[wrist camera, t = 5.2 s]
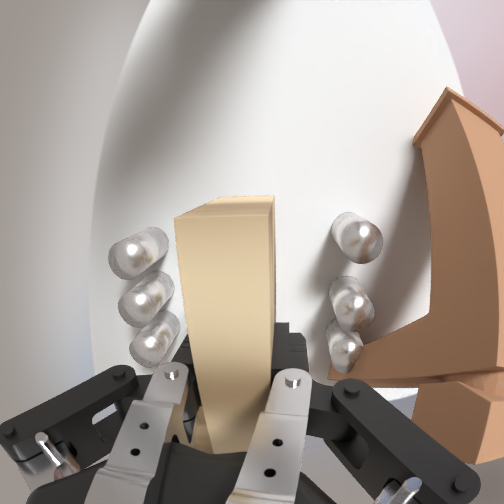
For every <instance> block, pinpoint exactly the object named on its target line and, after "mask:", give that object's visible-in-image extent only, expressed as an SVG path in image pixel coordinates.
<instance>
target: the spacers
mask: <svg viewBox="0 0 504 504" xmlns="http://www.w3.org/2000/svg"><path fill="white" fill-rule="evenodd" d="M332 236H333V238H334V240H335V241H336V243H337V244H338V245H339V247H340V248H341V249H342V251H343V252H344V254H345V255H346V256H347V258H348V259H349V260H351V261H352V262H354V263H358V264H365V263H369V262H371V261H373V260H374V259H375V258H376V257H377V256H378V255H379V253H380V252H381V249H382V246H383V238H382V234H381V232H380V230H379V229H378V228H377V227H376V226H375V225H374V224H372V223H370V222H369V221H367V220H365V219H364V218H362V217H361V216H359V215H357V214H355V213H352V212H346V213H342V214H340V215H339V216H338V217H337V218H336V219H335V220H334V222H333V224H332ZM168 248H169V241H168V238H167V236H166V234H165V233H164V232H163V231H162V230H161V229H159V228H156V227H150V228H147V229H145V230H143V231H141V232H139V233H136V234H134V235H132V236H130V237H128V238H126V239H124V240H122V241H120V242H118V243H116V244H114V245H113V246H112V247H111V249H110V251H109V255H108V260H109V264H110V267H111V269H112V271H113V272H114V273H115V274H116V275H117V276H118V277H120V278H121V279H124V280H131V279H134V278H135V277H137V276H138V275H139V274H140V273H142V272H143V271H144V270H146V269H147V268H148V267H150V266H151V265H152V264H154V263H155V262H156V261H158V260H159V259H160V258H162V257H163V256H164V255H165V254H166V253H167V251H168ZM173 292H174V283H173V281H172V279H171V278H170V276H169V275H167V274H166V273H164V272H162V271H154V272H152V273H150V274H149V275H148V276H147V277H145V278H144V279H143V280H142V281H140V282H139V283H138V284H137V285H136V286H134V287H133V288H132V289H131V290H130V291H128V292H127V293H126V294H125V295H124V296H123V297H121V299H120V300H119V303H118V309H119V313H120V315H121V317H122V318H123V319H124V321H125V322H127V323H128V324H129V325H131V326H133V327H137V328H141V327H144V326H145V327H144V328H143V329H142V330H141V332H140V333H139V334H138V335H137V336H136V338H135V339H134V340H133V341H132V342H131V344H130V346H129V350H130V354H131V356H132V357H133V359H134V360H135V361H136V362H138V363H139V364H140V365H142V366H145V367H149V368H152V367H155V366H157V365H158V364H159V362H160V361H161V359H162V358H163V356H164V354H165V353H166V351H167V350H168V348H169V346H170V345H171V343H172V342H173V340H174V338H175V337H176V335H177V334H178V332H179V330H180V322H179V320H178V318H177V317H176V316H175V315H174V314H173V313H171V312H169V311H165V310H162V311H159V310H160V309H161V307H162V306H163V305H164V304H165V303H166V302H167V300H168V299H169V298H170V297H171V296H172V294H173ZM329 297H330V300H331V303H332V306H333V309H334V312H335V315H336V318H337V319H335V320H333V321H331V322H330V323H329V325H328V326H327V328H326V338H327V342H328V347H329V351H330V356H331V360H332V365H333V367H334V369H335V370H337V371H338V372H341V373H350V372H351V370H352V368H353V367H354V365H355V363H356V362H357V360H358V358H359V357H360V355H361V353H362V351H363V350H364V348H363V343H362V341H361V338H360V336H359V333H358V332H359V331H362V330H364V329H365V328H367V327H368V326H369V325H370V324H371V322H372V321H373V319H374V315H375V309H374V306H373V304H372V303H371V301H370V299H369V298H368V296H367V295H366V293H365V291H364V290H363V288H362V287H361V285H360V283H359V282H358V281H357V279H355V278H354V277H352V276H341V277H339V278H337V279H336V280H334V281H333V282H332V284H331V286H330V288H329Z"/></svg>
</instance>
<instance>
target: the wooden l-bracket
mask: <svg viewBox="0 0 504 504" xmlns="http://www.w3.org/2000/svg"><path fill="white" fill-rule="evenodd" d="M174 227H175V238H176V247H177V256H178V265H179V273H180V281H181V289H182V296H183V303H184V310H185V316H186V323H187V329H188V335H189V341H190V347H191V352H192V358H193V363H194V368H195V374H196V379H197V384H198V388H199V393H200V398H201V402H202V406H200V407H199V410H198V412H197V413H198V425H197V431H196V437H195V443H194V449H197V450H200V451H202V452H205V453H208V454H222V453H233V452H243V451H244V452H247V451H248V449H249V446H250V443H251V440H252V437H253V434H254V431H255V428H256V424H257V421H258V418H259V415H260V413H261V412H262V411H263V412H264V411H265V408H266V405H267V402H268V398H269V395H270V391H271V363H272V350H273V337H274V323H276V250H275V200H274V195H268V196H233V197H219V198H217V199H215V200H213V201H210V202H208V203H206V204H204V205H202V206H200V207H197V208H195V209H193V210H191V211H189V212H187V213H185V214H182V215H180V216H178V217H176V218H174Z"/></svg>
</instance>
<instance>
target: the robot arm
mask: <svg viewBox="0 0 504 504" xmlns="http://www.w3.org/2000/svg"><path fill="white" fill-rule="evenodd" d="M113 403H114V405H115V407H116V409H117V411H116V412H114V413H112V414H111V415H109V416H108V417H106V418H104V419H102V420H101V421H99V422H98V423H96V424H94V425H93V424H92V418H93V416H94V415H95V414H96V413H98V412H100V411H102V410H103V409H105V408H106V407H108V406H110V405H111V404H113ZM200 406H202V402H201V398H200V393H199V388H198V384H197V379H196V374H195V368H194V363H193V358H192V352H191V347H190V341H189V335H188V334H187V335H186V337H185V339H184V340H183V342H182V344H181V345H180V347H179V349H178V351H177V352H176V354H175V356H174V357H173V359H172V361H171V362H168V363H164V364H162V365H160V366H158V367H157V368H156V369H155V371H154V374H152V375H138V376H136V373H135V370H134V369H133V368H132V367H130V366H127V365H117V366H113V367H111V368H109V369H107V370H105V371H104V372H102V373H100V374H98V375H96V376H94V377H92V378H90V379H89V380H87V381H85V382H83V383H81V384H79V385H77V386H75V387H74V388H71V389H70V390H68V391H66V392H64V393H62V394H60V395H58V396H56V397H54V398H52V399H50V400H48V401H46V402H44V403H42V404H40V405H38V406H36V407H34V408H32V409H30V410H28V411H26V412H24V413H22V414H20V415H18V416H16V417H14V418H12V419H10V420H7V421H5V422H4V423H2V424H1V425H0V444H1V446H2V447H3V448H4V450H5V451H6V452H7V453H8V455H9V457H10V458H11V459H12V460H13V462H14V463H15V464H16V465H17V466H18V468H19V470H20V472H21V474H22V476H23V478H24V480H25V481H26V483H27V485H28V487H29V489H30V490H31V492H32V493H31V494H30V496H29V497H28V499H27V502H26V504H337V503H335V502H334V501H333V500H332V499H331V498H330V497H329V496H327V495H326V494H325V493H324V492H323V491H322V490H321V489H320V488H319V487H318V486H317V485H316V484H314V482H313V481H311V480H310V479H309V478H308V477H307V476H306V475H305V474H304V473H302V472H300V468H301V463H302V456H303V450H304V443H305V436H306V435H311V436H315V437H320V438H323V439H324V442H325V443H326V445H327V446H328V447H329V448H330V449H331V451H332V452H333V453H334V454H335V456H336V457H337V458H338V459H339V460H340V461H341V463H342V464H343V465H344V466H345V467H346V469H347V470H348V471H349V472H350V473H351V474H352V476H353V477H354V478H355V479H356V480H357V481H358V482H359V484H360V485H361V486H362V487H363V488H364V489H365V490H366V491H367V493H368V494H369V495H370V496H371V497H372V498H373V499H374V500H375V501H374V503H373V504H469V503H470V502H471V501H472V500H473V499H474V498H475V497H476V496H477V495H478V493H479V491H480V486H481V483H480V478H479V476H478V474H477V473H476V472H475V471H473V470H472V469H471V468H470V467H468V466H467V465H466V464H465V463H463V462H462V461H461V460H459V459H458V458H457V457H456V456H454V455H453V454H452V453H451V452H449V451H448V450H447V449H446V448H444V447H443V446H442V445H441V444H439V443H438V442H437V441H436V440H434V439H433V438H432V437H431V436H429V435H428V434H427V433H426V432H424V431H423V430H422V429H421V428H420V427H418V426H417V425H416V424H415V423H413V422H412V421H411V420H410V419H409V418H407V417H406V416H405V415H404V414H402V413H401V412H400V411H399V410H398V409H396V408H395V407H394V406H393V405H392V404H390V403H389V402H388V401H387V400H386V399H385V398H383V397H382V396H381V395H380V394H379V393H377V392H376V391H375V390H374V389H373V388H371V387H370V386H369V385H368V384H367V383H365V382H364V381H362V380H359V379H353V378H349V379H343V380H340V381H338V382H337V383H336V384H335V385H334V387H332V386H326V385H322V384H319V383H317V382H316V381H314V380H313V379H312V377H311V375H310V374H309V367H308V357H307V348H306V339H305V338H304V337H303V335H302V334H301V333H289V323H274V337H273V350H272V363H271V391H270V395H269V398H268V402H267V405H266V408H265V411H264V412H263V411H262V412H261V413H260V415H259V418H258V421H257V424H256V428H255V431H254V434H253V437H252V440H251V443H250V446H249V449H248V451H247V452H244V451H243V452H233V453H222V454H208V453H205V452H202V451H200V450H197V449H194V443H195V437H196V431H197V425H198V413H197V412H198V410H199V407H200ZM110 452H111V453H110ZM109 453H110V456H109V458H108V459H107V460H105V461H102V462H100V463H98V464H96V465H93V466H91V467H89V468H87V467H88V466H90V465H92V464H93V463H95V462H96V461H98V460H99V459H101V458H102V457H104V456H106V455H107V454H109ZM85 468H86V469H85ZM83 469H84V470H83Z"/></svg>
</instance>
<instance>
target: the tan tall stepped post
mask: <svg viewBox="0 0 504 504" xmlns="http://www.w3.org/2000/svg"><path fill="white" fill-rule="evenodd" d="M503 133H504V128H503V126H502V125H500V124H499V123H498V122H497V121H495V120H494V119H493V118H492V117H490V116H489V115H488V114H486V113H485V112H484V111H482V110H481V109H480V108H478V107H477V106H476V105H474V104H473V103H471V102H470V101H468V100H467V99H465V98H464V97H462V96H461V95H459V94H458V93H456V92H455V91H453V90H452V89H450V88H448V87H446V88H445V90H444V91H443V93H442V95H441V96H440V98H439V99H438V101H437V103H436V104H435V106H434V107H433V109H432V110H431V112H430V114H429V115H428V117H427V118H426V120H425V121H424V123H423V124H422V126H421V127H420V129H419V130H418V132H417V133H416V135H415V136H414V140H413V145H414V146H416V147H418V148H419V149H421V150H422V155H423V161H424V168H425V175H426V183H427V192H428V202H429V214H430V230H431V293H430V309H429V313H428V314H427V315H426V316H424V317H422V318H420V319H418V320H416V321H414V322H412V323H410V324H408V325H406V326H404V327H402V328H400V329H398V330H396V331H394V332H392V333H390V334H388V335H385V336H383V337H381V338H379V339H377V340H374V341H372V342H370V343H368V344H365V345H363V348H364V350H363V351H362V353H361V355H360V357H359V358H358V360H357V362H356V363H355V365H354V367H353V368H352V370H351V372H350V373H341V372H338V371H337V370H335V369H334V367H333V365H332V363H331V366H330V370H329V374H328V378H327V379H330V380H335V381H340V380H343V379H349V378H353V379H359V380H362V381H364V382H365V383H367V384H368V385H369V386H370V387H373V388H419V389H418V394H417V398H416V403H415V407H414V411H413V415H412V419H411V421H412V422H413V423H415V424H416V425H417V426H418V427H420V428H421V429H422V430H423V431H424V432H426V433H427V434H428V435H429V436H431V437H432V438H433V439H434V440H436V441H437V442H438V443H439V444H441V445H442V446H443V447H444V448H446V449H447V450H448V451H449V452H451V453H452V454H453V455H454V456H456V457H457V458H458V459H459V460H461V461H462V462H463V463H469V464H474V465H475V464H480V463H484V462H488V461H491V460H495V459H499V458H502V457H504V143H503V141H502V139H501V136H502V135H503Z"/></svg>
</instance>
